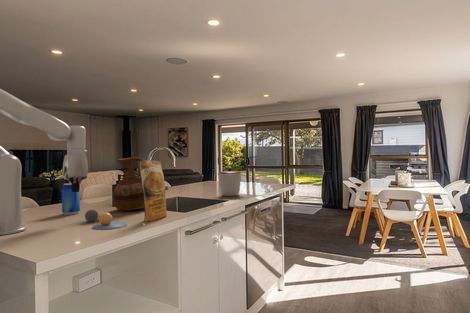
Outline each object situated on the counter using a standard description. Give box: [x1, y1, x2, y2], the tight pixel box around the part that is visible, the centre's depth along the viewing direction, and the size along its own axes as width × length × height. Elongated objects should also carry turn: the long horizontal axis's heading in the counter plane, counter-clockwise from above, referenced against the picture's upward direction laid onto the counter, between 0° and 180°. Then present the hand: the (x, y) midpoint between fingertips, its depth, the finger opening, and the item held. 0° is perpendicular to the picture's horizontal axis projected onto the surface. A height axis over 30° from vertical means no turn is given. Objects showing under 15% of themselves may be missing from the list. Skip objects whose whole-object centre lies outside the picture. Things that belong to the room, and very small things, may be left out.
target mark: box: [91, 221, 128, 231], centre depth 129 cm, size 14×14×1 cm
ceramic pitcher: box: [113, 156, 145, 211], centre depth 169 cm, size 20×20×30 cm
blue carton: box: [61, 182, 81, 216], centre depth 159 cm, size 8×8×16 cm
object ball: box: [98, 212, 113, 225], centre depth 130 cm, size 6×6×6 cm
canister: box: [217, 166, 243, 197], centre depth 222 cm, size 18×18×21 cm
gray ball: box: [84, 209, 99, 223], centre depth 138 cm, size 6×6×6 cm
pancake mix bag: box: [138, 159, 168, 222], centre depth 143 cm, size 7×19×28 cm, turn 157°
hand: (75, 191), depth 139 cm, fingers closed
